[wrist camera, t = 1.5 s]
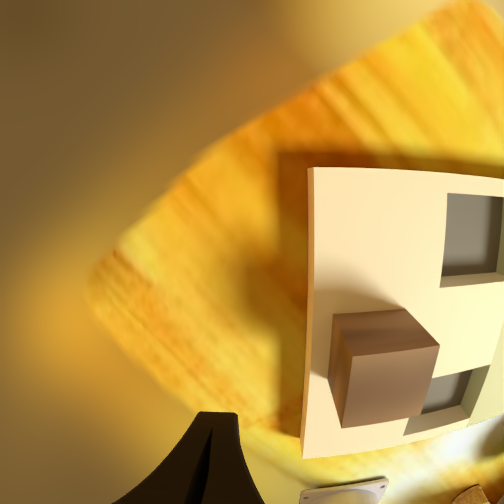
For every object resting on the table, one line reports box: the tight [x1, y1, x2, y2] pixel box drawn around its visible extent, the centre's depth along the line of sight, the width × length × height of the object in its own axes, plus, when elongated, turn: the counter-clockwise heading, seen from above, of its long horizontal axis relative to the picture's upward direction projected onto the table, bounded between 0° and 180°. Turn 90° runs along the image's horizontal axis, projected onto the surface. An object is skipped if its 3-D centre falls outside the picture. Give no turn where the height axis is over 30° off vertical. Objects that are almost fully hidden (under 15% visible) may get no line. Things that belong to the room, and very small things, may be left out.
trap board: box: [300, 167, 504, 459], centre depth 16 cm, size 18×20×4 cm
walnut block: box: [327, 309, 440, 429], centre depth 14 cm, size 4×4×4 cm
